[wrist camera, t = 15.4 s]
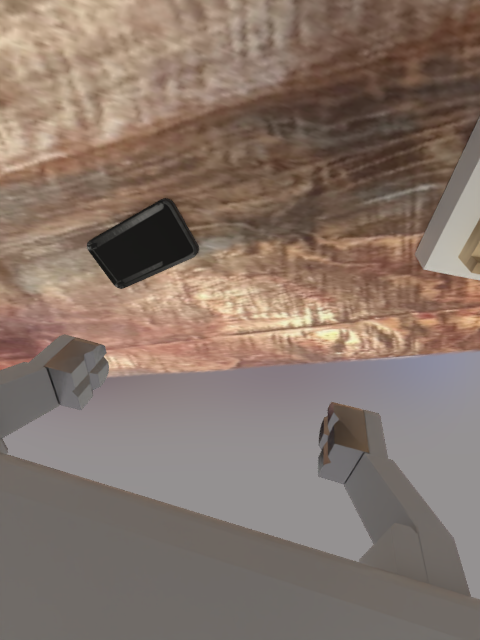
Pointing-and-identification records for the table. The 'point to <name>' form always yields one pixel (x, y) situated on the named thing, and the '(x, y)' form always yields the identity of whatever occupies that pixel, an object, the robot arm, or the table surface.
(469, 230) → the block
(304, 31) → the table surface
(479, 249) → the tan tray
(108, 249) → the phone
